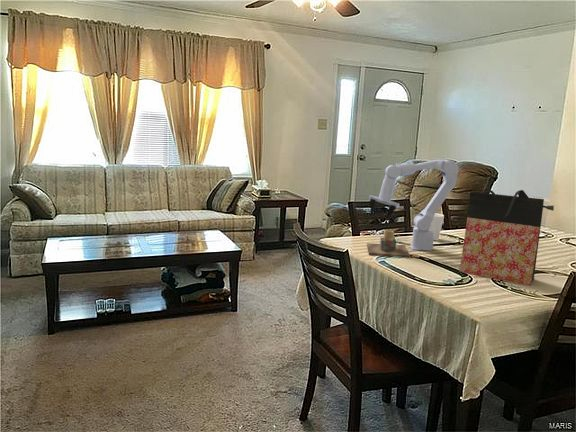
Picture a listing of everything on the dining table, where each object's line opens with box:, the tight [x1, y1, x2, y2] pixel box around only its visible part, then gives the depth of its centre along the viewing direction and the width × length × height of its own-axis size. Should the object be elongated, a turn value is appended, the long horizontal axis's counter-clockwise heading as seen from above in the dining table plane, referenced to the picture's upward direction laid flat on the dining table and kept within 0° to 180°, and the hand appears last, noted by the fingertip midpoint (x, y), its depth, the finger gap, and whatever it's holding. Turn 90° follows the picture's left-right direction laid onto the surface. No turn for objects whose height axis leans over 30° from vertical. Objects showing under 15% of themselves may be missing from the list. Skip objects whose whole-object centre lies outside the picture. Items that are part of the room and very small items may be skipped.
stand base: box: [366, 237, 411, 258], centre depth 215 cm, size 18×18×6 cm
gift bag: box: [459, 188, 555, 287], centre depth 179 cm, size 29×14×35 cm, turn 56°
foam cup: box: [429, 212, 445, 241], centre depth 241 cm, size 10×9×13 cm
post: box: [383, 229, 395, 241], centre depth 214 cm, size 4×4×8 cm
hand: (379, 217), depth 221 cm, fingers open, 7 cm apart
